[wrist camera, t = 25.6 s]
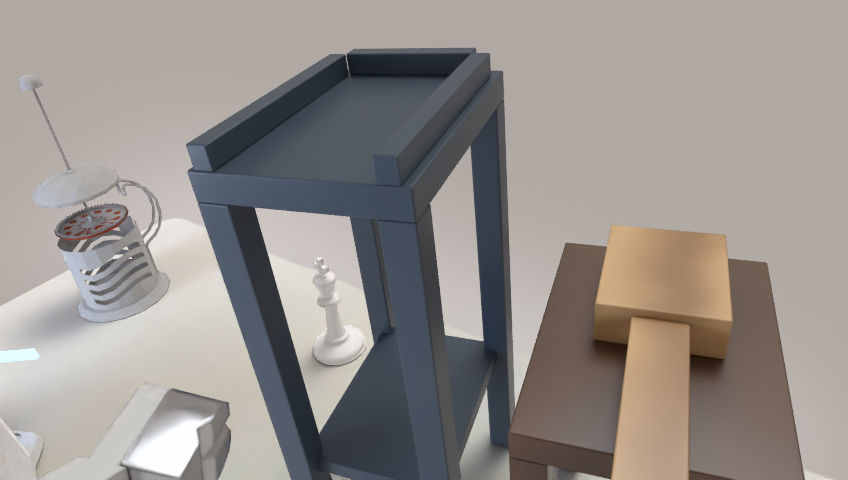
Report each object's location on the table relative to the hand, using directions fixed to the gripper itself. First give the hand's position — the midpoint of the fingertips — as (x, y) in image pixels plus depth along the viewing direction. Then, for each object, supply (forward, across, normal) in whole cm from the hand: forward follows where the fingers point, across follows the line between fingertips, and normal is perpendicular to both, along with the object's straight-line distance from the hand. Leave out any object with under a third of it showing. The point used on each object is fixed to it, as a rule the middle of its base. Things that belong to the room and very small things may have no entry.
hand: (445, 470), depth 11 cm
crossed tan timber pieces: (+12, -9, +9) cm, 17 cm away
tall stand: (+19, -1, +30) cm, 35 cm away
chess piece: (+33, +9, +33) cm, 48 cm away
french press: (+42, +35, +40) cm, 67 cm away
